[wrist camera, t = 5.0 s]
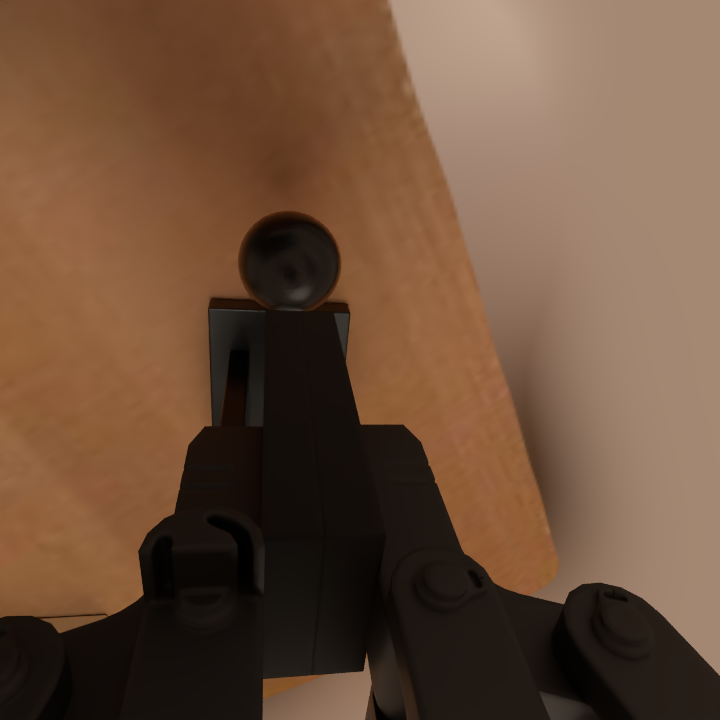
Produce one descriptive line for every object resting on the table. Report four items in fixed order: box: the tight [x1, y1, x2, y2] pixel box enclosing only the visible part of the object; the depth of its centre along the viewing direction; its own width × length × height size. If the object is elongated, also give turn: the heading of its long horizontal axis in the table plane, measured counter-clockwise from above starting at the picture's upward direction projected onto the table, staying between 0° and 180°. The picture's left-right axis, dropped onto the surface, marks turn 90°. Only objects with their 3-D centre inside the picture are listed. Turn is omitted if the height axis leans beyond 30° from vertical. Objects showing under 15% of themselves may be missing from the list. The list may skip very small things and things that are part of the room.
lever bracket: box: [208, 299, 350, 426], centre depth 25 cm, size 9×7×13 cm
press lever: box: [238, 211, 341, 311], centre depth 19 cm, size 13×3×3 cm, turn 174°
